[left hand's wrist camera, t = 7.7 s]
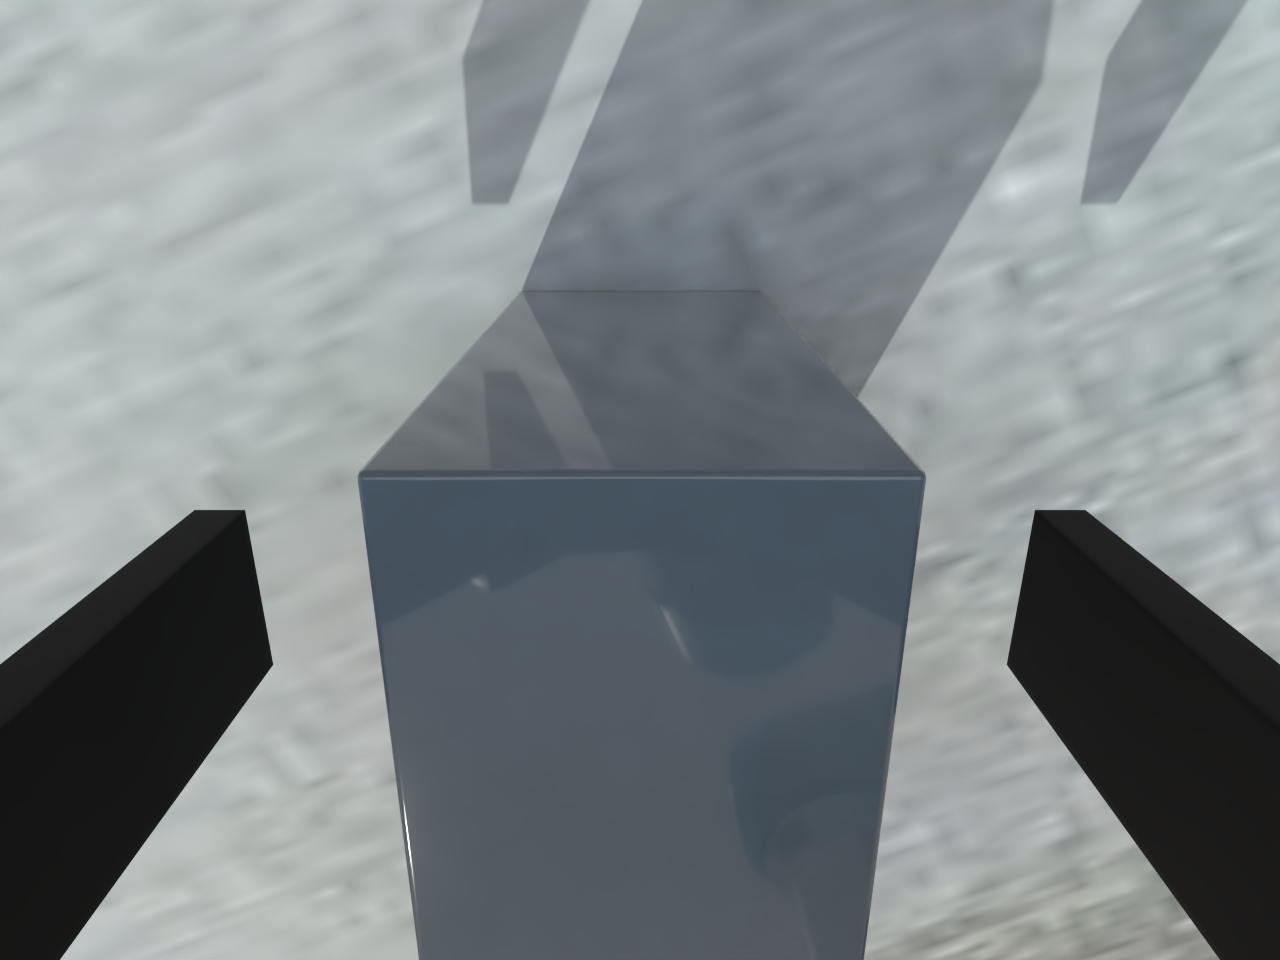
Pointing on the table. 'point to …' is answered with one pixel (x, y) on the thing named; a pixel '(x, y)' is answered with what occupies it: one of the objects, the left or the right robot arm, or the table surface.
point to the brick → (641, 634)
